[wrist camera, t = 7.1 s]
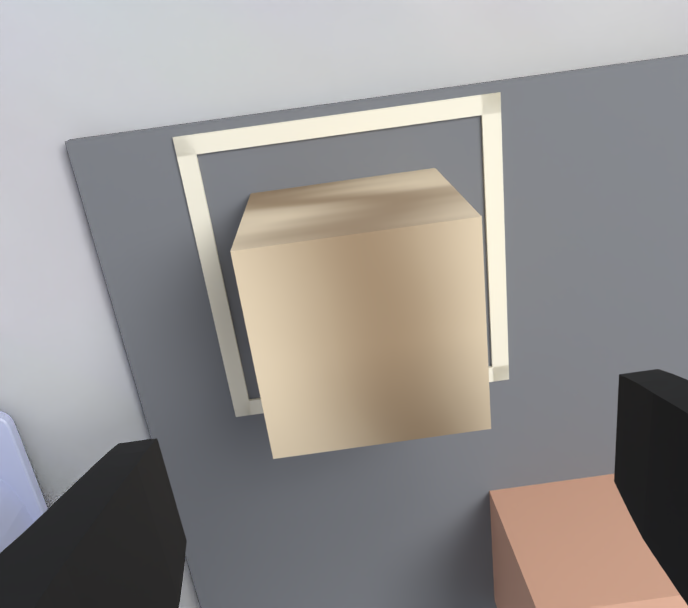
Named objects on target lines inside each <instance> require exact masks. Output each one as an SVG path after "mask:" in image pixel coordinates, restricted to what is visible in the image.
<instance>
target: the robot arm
mask: <svg viewBox="0 0 688 608" xmlns="http://www.w3.org/2000/svg"><path fill="white" fill-rule="evenodd" d="M614 482H615V485H616V487H617V489H618V491H619V493H620V495H621V497H622V499H623V501H624V503H625V505H626V507H627V509H628V511H629V513H630V515H631V517H632V519H633V521H634V523H635V525H636V527H637V529H638V531H639V533H640V534H641V536H642V538H643V540H644V541H645V543H646V544H647V546H648V548H649V549H650V551H651V552H652V554H653V555H654V557H655V558H656V560H657V561H658V563H659V564H660V566H661V567H662V569H663V570H664V571H665V573H666V574H667V576H668V577H669V579H670V580H671V582H672V583H673V585H674V586H675V588H676V589H677V591H678V592H679V594H680V595H681V597H682V598H683V599H684V601H685V602H686V604H687V605H688V380H687V379H684V378H682V377H680V376H677V375H674V374H672V373H669V372H666V371H663V370H660V369H654V370H647V371H639V372H632V373H625V374H619V385H618V407H617V428H616V450H615V471H614ZM186 543H187V540H186V536H185V533H184V529H183V526H182V523H181V519H180V516H179V512H178V509H177V505H176V502H175V498H174V495H173V491H172V488H171V484H170V481H169V477H168V474H167V470H166V467H165V463H164V460H163V456H162V453H161V449H160V446H159V442H158V439H157V438H156V439H149V440H142V441H134V442H127V443H120V444H118V445H116V446H115V447H114V448H113V449H111V450H110V451H109V452H108V453H107V454H106V455H105V456H103V457H102V458H101V459H100V460H99V461H98V462H97V463H96V464H95V465H94V466H93V467H92V468H91V469H90V470H89V471H88V472H86V473H85V474H84V475H83V476H82V477H81V478H80V479H79V480H78V481H77V482H76V483H75V484H74V485H73V486H72V487H71V488H70V489H69V490H68V491H67V492H66V493H65V494H64V495H63V496H61V497H60V498H59V499H58V500H57V501H56V502H55V503H54V504H53V505H52V506H51V507H50V508H49V509H48V508H47V505H46V503H45V500H44V497H43V495H42V492H41V490H40V487H39V485H38V482H37V479H36V477H35V474H34V472H33V469H32V466H31V464H30V461H29V459H28V456H27V454H26V451H25V448H24V446H23V443H22V441H21V438H20V435H19V433H18V430H17V428H16V425H15V422H14V421H13V419H12V418H11V416H9V415H8V414H7V413H5V412H2V411H0V608H178V607H179V602H180V595H181V587H182V579H183V571H184V562H185V553H186Z"/></svg>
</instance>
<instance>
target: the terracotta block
mask: <svg viewBox="0 0 688 608" xmlns="http://www.w3.org/2000/svg"><path fill="white" fill-rule="evenodd" d="M489 494H490V515H491V536H492V557H493V578H494V600H495V603H496V606H497V608H688V605H687V604H686V602H685V601H684V599H683V598H682V597H681V595H680V594H679V592H678V591H677V589H676V588H675V586H674V585H673V583H672V582H671V580H670V579H669V577H668V576H667V574H666V573H665V571H664V570H663V569H662V567H661V566H660V564H659V563H658V561H657V560H656V558H655V557H654V555H653V554H652V552H651V551H650V549H649V548H648V546H647V544H646V543H645V541H644V540H643V538H642V536H641V534H640V533H639V531H638V529H637V527H636V525H635V523H634V521H633V519H632V517H631V515H630V513H629V511H628V509H627V507H626V505H625V503H624V501H623V499H622V497H621V495H620V493H619V491H618V489H617V487H616V485H615V482H614V474H608V475H601V476H594V477H586V478H579V479H572V480H565V481H557V482H550V483H543V484H536V485H528V486H521V487H514V488H507V489H499V490H492V491H489Z"/></svg>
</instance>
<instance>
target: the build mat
mask: <svg viewBox="0 0 688 608" xmlns="http://www.w3.org/2000/svg"><path fill="white" fill-rule="evenodd" d="M65 144H66V148H67V151H68V154H69V158H70V161H71V165H72V168H73V172H74V175H75V178H76V182H77V185H78V189H79V192H80V196H81V199H82V202H83V206H84V209H85V213H86V216H87V220H88V223H89V226H90V230H91V233H92V237H93V240H94V244H95V247H96V250H97V254H98V257H99V261H100V264H101V268H102V271H103V274H104V278H105V281H106V285H107V288H108V292H109V295H110V298H111V302H112V305H113V309H114V312H115V316H116V319H117V322H118V326H119V329H120V333H121V336H122V340H123V343H124V346H125V350H126V353H127V357H128V360H129V364H130V367H131V370H132V374H133V377H134V381H135V384H136V388H137V391H138V394H139V398H140V401H141V405H142V408H143V411H144V415H145V418H146V422H147V425H148V429H149V432H150V435H151V439H156V438H157V439H158V442H159V446H160V449H161V453H162V456H163V460H164V463H165V467H166V470H167V474H168V477H169V481H170V484H171V488H172V491H173V495H174V498H175V502H176V505H177V509H178V512H179V516H180V519H181V523H182V526H183V529H184V533H185V536H186V540H187V543H186V553H185V555H186V559H187V562H188V566H189V569H190V573H191V576H192V579H193V583H194V586H195V590H196V593H197V597H198V600H199V603H200V607H201V608H497V606H496V603H495V600H494V578H493V557H492V536H491V515H490V494H489V491H492V490H499V489H507V488H514V487H521V486H528V485H536V484H543V483H550V482H557V481H565V480H572V479H579V478H586V477H594V476H601V475H608V474H614V471H615V450H616V428H617V407H618V385H619V374H625V373H632V372H639V371H647V370H654V369H660V370H663V371H666V372H669V373H672V374H674V375H677V376H680V377H682V378H684V379H687V380H688V54H687V55H679V56H672V57H665V58H657V59H650V60H643V61H636V62H628V63H621V64H614V65H607V66H599V67H592V68H585V69H578V70H570V71H563V72H556V73H549V74H541V75H534V76H527V77H520V78H512V79H505V80H498V81H491V82H483V83H476V84H469V85H462V86H454V87H447V88H440V89H433V90H425V91H418V92H411V93H404V94H396V95H389V96H382V97H375V98H367V99H360V100H353V101H346V102H338V103H331V104H324V105H317V106H309V107H302V108H295V109H287V110H280V111H273V112H266V113H258V114H251V115H244V116H237V117H229V118H222V119H215V120H208V121H200V122H193V123H186V124H179V125H171V126H164V127H157V128H150V129H142V130H135V131H128V132H121V133H113V134H106V135H99V136H92V137H84V138H77V139H70V140H68V141H66V142H65ZM430 168H436V169H437V170H438V171H439V172H440V173H441V174H442V176H443V177H444V178H445V179H446V180H447V181H448V182H449V183H450V184H451V185H452V186H453V187H454V188H455V189H456V190H457V191H458V192H459V193H460V194H461V195H462V196H463V197H464V199H465V200H466V201H467V202H468V203H469V204H470V205H471V206H472V207H473V208H474V209H475V210H476V211H477V212H478V213H479V214H480V215H481V216H482V234H483V256H484V279H485V301H486V323H487V346H488V368H489V390H490V413H491V429H486V430H479V431H472V432H465V433H458V434H450V435H443V436H436V437H429V438H421V439H414V440H407V441H400V442H393V443H385V444H378V445H371V446H364V447H356V448H349V449H342V450H335V451H328V452H320V453H313V454H306V455H299V456H291V457H284V458H277V459H273V455H272V450H271V446H270V441H269V436H268V431H267V426H266V421H265V417H264V412H263V407H262V402H261V397H260V392H259V388H258V383H257V378H256V373H255V368H254V363H253V359H252V354H251V349H250V344H249V339H248V334H247V330H246V325H245V320H244V315H243V310H242V305H241V301H240V296H239V291H238V286H237V281H236V276H235V272H234V267H233V262H232V257H231V252H230V251H231V248H232V245H233V242H234V239H235V237H236V234H237V231H238V228H239V225H240V222H241V220H242V217H243V214H244V211H245V208H246V205H247V203H248V200H249V197H250V194H251V193H257V192H265V191H272V190H279V189H286V188H293V187H301V186H308V185H315V184H322V183H329V182H337V181H344V180H351V179H358V178H366V177H373V176H380V175H387V174H394V173H402V172H409V171H416V170H423V169H430Z"/></svg>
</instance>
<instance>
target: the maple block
mask: <svg viewBox="0 0 688 608" xmlns="http://www.w3.org/2000/svg"><path fill="white" fill-rule="evenodd" d="M230 252H231V257H232V262H233V267H234V272H235V276H236V281H237V286H238V291H239V296H240V301H241V305H242V310H243V315H244V320H245V325H246V330H247V334H248V339H249V344H250V349H251V354H252V359H253V363H254V368H255V373H256V378H257V383H258V388H259V392H260V397H261V402H262V407H263V412H264V417H265V421H266V426H267V431H268V436H269V441H270V446H271V450H272V455H273V459H277V458H284V457H291V456H299V455H306V454H313V453H320V452H328V451H335V450H342V449H349V448H356V447H364V446H371V445H378V444H385V443H393V442H400V441H407V440H414V439H421V438H429V437H436V436H443V435H450V434H458V433H465V432H472V431H479V430H486V429H491V413H490V390H489V368H488V346H487V323H486V301H485V279H484V256H483V234H482V216H481V215H480V214H479V213H478V212H477V211H476V210H475V209H474V208H473V207H472V206H471V205H470V204H469V203H468V202H467V201H466V200H465V199H464V197H463V196H462V195H461V194H460V193H459V192H458V191H457V190H456V189H455V188H454V187H453V186H452V185H451V184H450V183H449V182H448V181H447V180H446V179H445V178H444V177H443V176H442V174H441V173H440V172H439V171H438V170H437V169H436V168H430V169H423V170H416V171H409V172H402V173H394V174H387V175H380V176H373V177H366V178H358V179H351V180H344V181H337V182H329V183H322V184H315V185H308V186H301V187H293V188H286V189H279V190H272V191H265V192H257V193H251V194H250V197H249V200H248V203H247V205H246V208H245V211H244V214H243V217H242V220H241V222H240V225H239V228H238V231H237V234H236V237H235V239H234V242H233V245H232V248H231V251H230Z"/></svg>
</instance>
